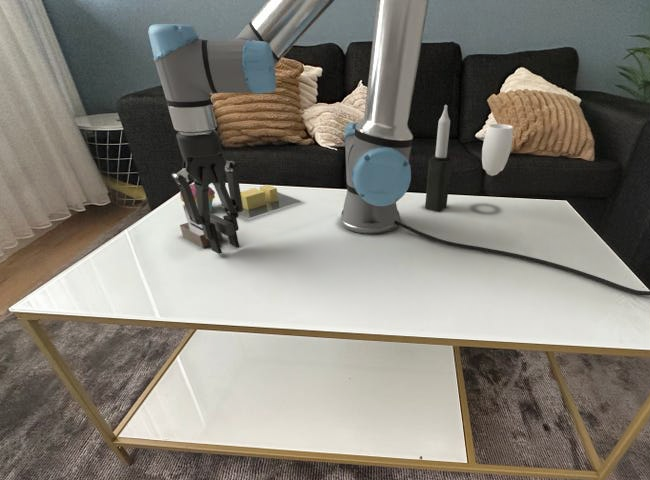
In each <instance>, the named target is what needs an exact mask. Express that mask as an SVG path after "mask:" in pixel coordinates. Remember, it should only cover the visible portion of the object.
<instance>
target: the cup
mask: <svg viewBox="0 0 650 480" xmlns="http://www.w3.org/2000/svg"><path fill="white" fill-rule="evenodd" d="M513 136H514V126H513V125H510V124H505V123H490V124H488V125H487V128H486V131H485V134H484V137H483V143H482V148H481V164H482V169H483V170H484V171H485V172H486V174H487V175H488V176H490V177H493V176H497V175H498V174H500V172H502V171H503V170H504V169H505V167H506V165H507V163H508V160H509V158H510V154H511V151H512V145H513V139H514V138H513Z"/></svg>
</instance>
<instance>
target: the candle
mask: <svg viewBox="0 0 650 480" xmlns="http://www.w3.org/2000/svg"><path fill="white" fill-rule="evenodd" d="M437 124H438V125H437V134H436V143H435V144H436V145H435V154H434V155H432V156H431V157H430V158H429V159H428V168H427V170H428V171H427V179H426V180H427V181H426V192H425V205H424V208H425V209H426V210H430V211H434V212H442V211H443V210H445V209H447V206H448V197H449V189H450V181H451V172H452V164H453V163H452V162H453V159H452V158H451V156H450V155H448V146H449V137H450V128H451V119H450V117H449V113H448V105H447V104H445V105H444V106H443V111H442V114H441V116H440V118H439V120H438V123H437Z"/></svg>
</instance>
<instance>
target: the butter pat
mask: <svg viewBox="0 0 650 480" xmlns="http://www.w3.org/2000/svg"><path fill="white" fill-rule="evenodd" d="M259 190H261V191H264V192H265V197H266V201H268V202H270V203H273V202H277V201H278V194H277V192H278V189H277V187H274V186H271V185H269V184H264V185H261V186H259Z"/></svg>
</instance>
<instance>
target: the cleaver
mask: <svg viewBox="0 0 650 480" xmlns="http://www.w3.org/2000/svg"><path fill="white" fill-rule="evenodd" d="M182 208H183V211H184V214H185V218H186V220H187V223H189V224H191V225H193V226H195V227H197V228H199V229H200V230H202V231H203V229H202V225H201V224H200V225H198V224H196V223H194V222H192V221H191V220H190V218H189V215H188V212H187V209H186V207H185V204H184V203H183V204H182ZM210 222H211V223H213V224H215V228H216V231H218V232H220V233H221V234H222V235H224V236H226V237H227V238H228V237H229V236H231V235H234V234H235V230H234V226H233V223H231V222H229V221H227V220H225V219H224V218H223V217H220V216H218V215H216V214H215V213H210Z"/></svg>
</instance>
